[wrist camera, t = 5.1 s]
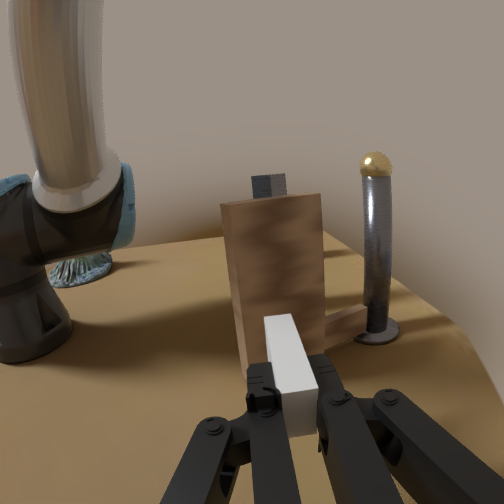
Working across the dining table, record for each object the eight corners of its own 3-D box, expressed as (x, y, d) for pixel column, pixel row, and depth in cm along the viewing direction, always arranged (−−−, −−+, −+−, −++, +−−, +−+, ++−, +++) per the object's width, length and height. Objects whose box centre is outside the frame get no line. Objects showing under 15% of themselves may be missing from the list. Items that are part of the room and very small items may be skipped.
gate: (356, 331, 33) (356, 187, 29) (367, 338, 31) (370, 188, 27) (242, 375, 28) (220, 203, 23) (250, 386, 26) (228, 205, 22)
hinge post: (338, 333, 33) (333, 152, 28) (368, 314, 37) (366, 153, 32) (380, 351, 29) (384, 148, 24) (407, 328, 32) (412, 151, 27)
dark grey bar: (309, 304, 42) (301, 172, 38) (283, 321, 38) (272, 174, 33) (275, 296, 46) (265, 174, 42) (248, 311, 42) (234, 178, 37)
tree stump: (34, 293, 58) (25, 218, 57) (72, 285, 78) (64, 224, 77) (96, 283, 59) (85, 200, 58) (127, 276, 79) (117, 211, 78)
